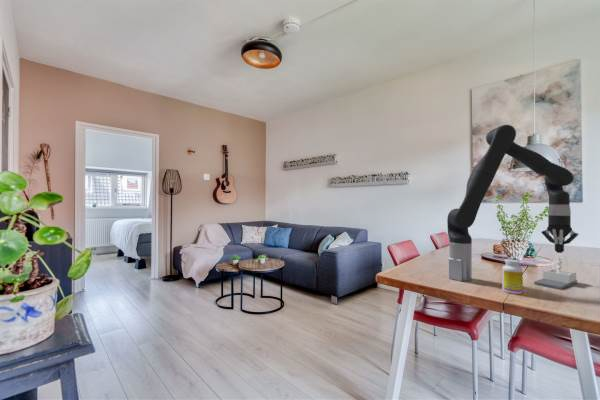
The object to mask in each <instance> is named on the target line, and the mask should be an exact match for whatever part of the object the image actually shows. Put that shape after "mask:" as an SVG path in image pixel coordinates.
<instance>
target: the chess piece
mask: <svg viewBox="0 0 600 400" xmlns="http://www.w3.org/2000/svg"><path fill="white" fill-rule="evenodd" d="M561 260H562V258H561V256H558V258H556V261H555V262H556V267H555V268H557V269H558V271H557V273H561V270H562V269H561V268H563V266H562V263H563V262H562V261H561Z"/></svg>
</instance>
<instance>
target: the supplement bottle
mask: <svg viewBox="0 0 600 400" xmlns="http://www.w3.org/2000/svg"><path fill="white" fill-rule="evenodd" d="M504 263H505V265H503V266H502V268H501V271H502V273H501V277H502V278H501V279H502V280H501V283H502V284H501V287H502V288H501V289H502V291H503V292H505V293H509V294H514V295H520V294H523V293H524V291H523V290H524V289H523V285H524V284H523V283H524V282H523V269H522V267H520V260H519V259H511V258H510V259H509V258H508V259H507V258H506V259H504Z"/></svg>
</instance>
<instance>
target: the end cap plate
mask: <svg viewBox="0 0 600 400" xmlns="http://www.w3.org/2000/svg"><path fill="white" fill-rule="evenodd" d="M557 271H558V268H557V269H556V268H548V269H545V270H542V272H543V273H542V278H541V279H537V280H536V281H535V280H534V283H533V284H534V285H535V286H541V287H544V288H550V289H555V290H559V291H562V290H564V289H566V288H568V287H570V286H573V285H575V284H577V283H578V279H577V272H576V271H569V270H568V271H567V270H564V269H563V270H562V269H561V273H557Z"/></svg>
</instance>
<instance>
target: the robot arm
mask: <svg viewBox="0 0 600 400" xmlns="http://www.w3.org/2000/svg"><path fill="white" fill-rule="evenodd" d="M516 131H517V130H516V129H515V127H514V126H513V125H511V124H502V125H500V126H497V127H495V128H493V129H491V130H490V131H488V133H487V134H486V136H485V140H486V143H487V145H489V147H488V149H487V151H486V152H485V154H484V155H482V157H481V158H480V160H479V161H478V162H477V164H476V165H475V166H474V168H473V169H472V171H471V173H470V175H469V177H468V178H467V183H466V191H465V195H464V199H463V200H462V203H461V204H460V206H459V208H453V209H451V210H450V211H449V213H448V215H447V218H446V219H447V221H446V222H447V235H448V239H449V249H448V250H449V253H448V254H449V258H448V279H450V280H455V281H458V282H471V281H472V280H473V277H472V276H473V275H472V274H473V272H472V271H473V270H472V269H473V268H472V267H473V264H472V263H473V261H472V260H473V258H472V257H473V256H472V253H473V252H472V251H473V250H472V249H473V248H472V247H473V246H472V244H473V243H472V241H473V240H472V239H473V238H472V237H471V234H470V233H469V228H470V227H471V226H472V225H474V223H475V221H476V218H477V215H478V212H479V209H480V206H481V204H482V202H483V200H484V198H485V196H486V194H487V192H488V191H489V188H490V186H491V185H492V182H493V180H494V178H495V176H496V174H497V172H498V170H499V168H500V166H501V163H502V162H503V159H504V157H505V156H506V155H507V156H509V157H511V158H513V159H515V160H517V161H518V163H519V162H520V164H521V163H522V164H523V165H524V166H525V167H527V168H528V169H529V170H532V172H534V173H535V174H537V175H540V176H545V177H544V184H545V188H546V192H547V194H548V209H547V212H548V213H547V214H548V216H547V217H548V219H547V223H548V224H547V228H546V229H545V230H543V231H541V234H542V235H543V236H544V237H545V238H546V240H547V241H548V242H549V243H552V244H554V251H555V252H556V254H557V253H558V254H559V253H560V254H562V253H563V252H564V251H565V245H567V244H570V243H571V242H572V241H574V240H575V239H576V238H577V237H578V236H579V233H578V232H576V231H574V230H573V228H572V226H571V222H572V221H571V216H572V215H571V214H572V213H571V212H572V211H571V205H570V203H571V201H570V198H571V197H570V193H569V192H567V191H565V190H564V187H563V186H565V187H566V186H569V185H571V184H572V183H573V182H574V179H575V177H574V175H573V173H572V172H571V171H570V170H568V169H567V168H565V167H563V166H561V165H558V164H556V163H554V162H552V161H550V160H549V159H547V158H546V157H545V156H543V155H542V154H541V153H538V152H536V151H533V150H531V149H529V148H527V147H523V146H522V145H519V144H517V143H516V142H515V140H516V137H517V132H516ZM568 235H569V238H567V236H568Z"/></svg>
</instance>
